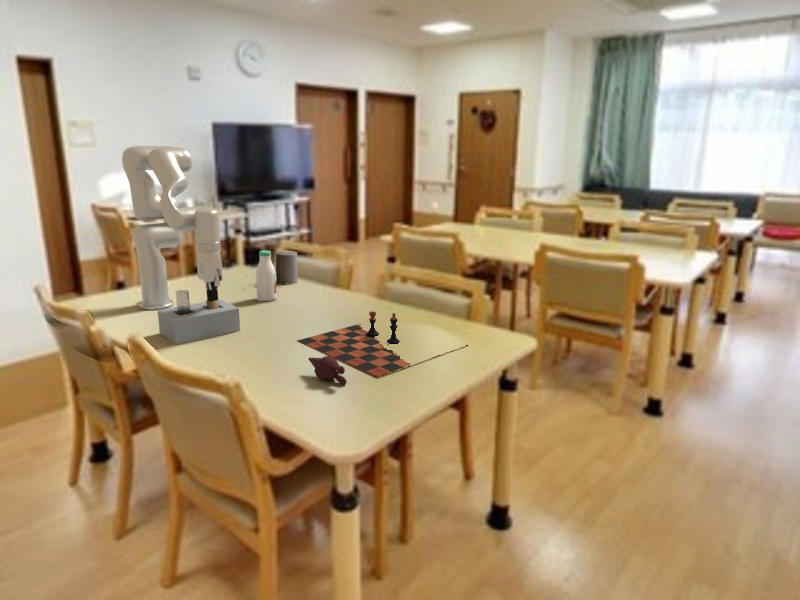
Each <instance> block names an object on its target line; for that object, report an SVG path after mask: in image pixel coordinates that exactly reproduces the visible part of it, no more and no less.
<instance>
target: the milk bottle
mask: <svg viewBox="0 0 800 600" xmlns="http://www.w3.org/2000/svg"><path fill="white" fill-rule="evenodd" d="M258 255H259V260H258V262H259V263H258V264H257V268H256V270H255V274H256V275H255V276H256V278H255V280H256V281H255V282H256V298H257V300H258V301H260V302H271V301H274V300H276V299H277V282H276V267H275V266H274V265H273V262H272V258H271V257H272V252H271V251H270V250H266V249H265V250H260V251H259V252H258Z"/></svg>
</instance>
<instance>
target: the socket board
mask: <svg viewBox="0 0 800 600" xmlns="http://www.w3.org/2000/svg"><path fill="white" fill-rule="evenodd" d="M218 300H219V308H217V309H211V310H208V309H207V304H206V301H204V302H198V303H193V304H191V303H190V312H191V313H190V314H185V315H180V316H179V315H178V313H177V306H175V307H168V308H163V309H157V319H158V329H159V334H160V335H161V336H163V337H165V338H166V339H167V340H169V341H170V342H172V343H173V344H175V346H177V345H182V344H186V343H190V342H191V343H192V342H194V341H199V340H205V339H208V338H213V337H218V336H223V335H227V334H231V332H232V333H236V332H239V331H241V327H240V326H241V324H240V308H239V307H237V306H235V305H233V304H231V303H229V302H227V301H224V300H222V299H221V298H220V299H219V298H218ZM226 333H227V334H226Z"/></svg>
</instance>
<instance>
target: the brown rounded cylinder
mask: <svg viewBox="0 0 800 600" xmlns="http://www.w3.org/2000/svg"><path fill="white" fill-rule="evenodd" d="M205 302H206V304H207V309H208V310H211V309H217V308H219V299H218V300H216V301H208V300H207V299H206V300H205Z"/></svg>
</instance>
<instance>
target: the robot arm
mask: <svg viewBox="0 0 800 600" xmlns="http://www.w3.org/2000/svg"><path fill="white" fill-rule="evenodd" d="M121 156H122V157H121V162H122V168H123V170H124V173H125V175H126V178H127V180H128V184H129V189H130V196H131V204H132V211H133V214H134V217H135V218H136V219H137V220H139V221H155V220H163V222H154V223H144V224H141V225H138V226H136V227H135V228H134V229H133V230H132V240H133V243H134V247H135V250H136V251H135V252H136V256H137V261H138V262H137V263H138V269H139V270H138V271H139V280H140V290H141V291H140V292H141V299H142V301H139V302H138V308H140V309H143V310H151V311H152V310H153V311H154V310H163V309H168V308H171V307H172V306H173V305H174V303H175V302H174V300H173V299H172V298H171V299H170V296H169V285H168V275H167V262H166V259H165V257H164V256H163V254H161V252H160V251H159V250H160V249H165V248H172V247H177V246H179V245H180V244H181V243H182V240H183V231H192V230H195V239H196V251H197V254H196V255H197V256H196V266H197V268H196V269H197V270H196V271H197V277H198V279H199V280H201V281H203V282H204V284H205V285H204V286H205V288H206V300H208V301H216V300H219V292H218V291H219V290H218V289H219V287H220V286H221V281H223V277H224V275H223V266H222V265H223V263H222V257H221V252H222V247H221V246H222V245H221V244H222V243H221V235H220V234H221V232H220V217H219V215H220V214H219V212H218V211H217V210H216V209H212V208H208V207H206V206H200V205H199V206H187V207H185V206H184V207H179V204H178V203H179V202H178V201H177V200H176V198H175V197H177V196H179V195H180V194H182V193H183V192H184V191H186V189H187V188H188V186H189V181H188V178H187V177H186V175H185V174H184V173H187V172H189V171H190V170H192V168H193V158H192V156H191V155H190V153H189V151H188V150H187V149H186V148H184V147H176V146H167V145H165V146H164V145H162V146H161V145H158V146H157V145H136V146H135V145H134V146H130V147H127V148H125V149H124V151H123V152H122V155H121ZM147 171H152V172H153V174H154V175H155V177H156V179H157V180H158V183H159V184H160V186H161V187H162V189H163V190H162V191H161V193H157V192H156V183H155V180H154V179H153V177H152V176H151V175H150V173H148V172H147Z"/></svg>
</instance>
